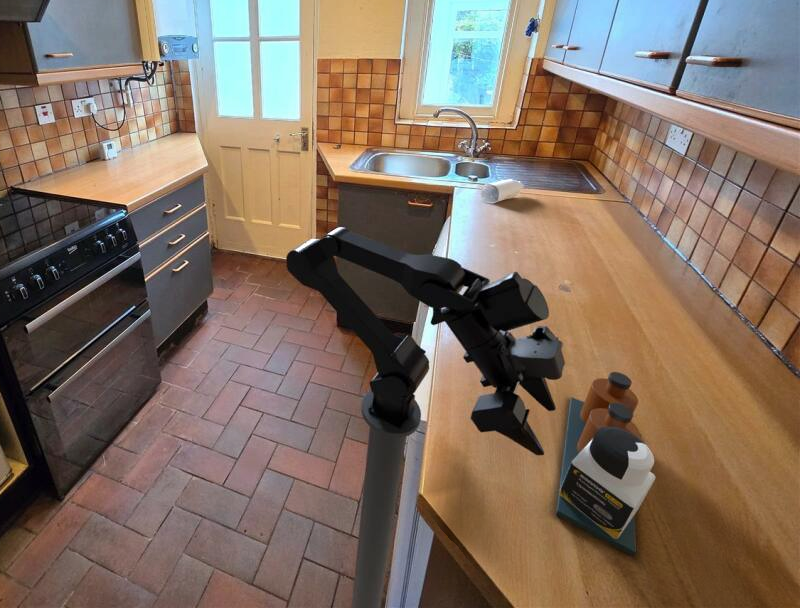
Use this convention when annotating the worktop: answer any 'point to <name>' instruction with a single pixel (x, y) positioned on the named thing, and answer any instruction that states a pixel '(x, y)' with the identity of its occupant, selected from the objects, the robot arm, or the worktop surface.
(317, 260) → the robot arm
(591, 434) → the amber bottle near
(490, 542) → the worktop surface
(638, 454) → the medicine bottle
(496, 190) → the white bottle
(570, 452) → the tray
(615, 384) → the amber bottle far
